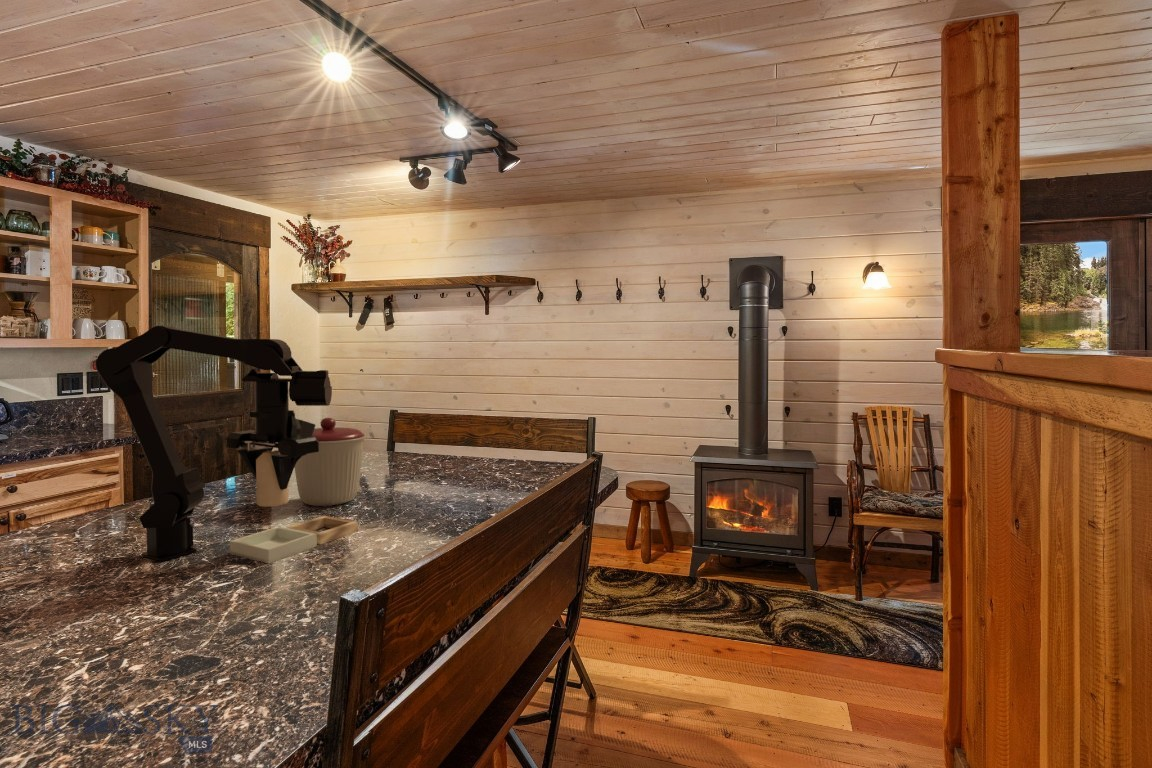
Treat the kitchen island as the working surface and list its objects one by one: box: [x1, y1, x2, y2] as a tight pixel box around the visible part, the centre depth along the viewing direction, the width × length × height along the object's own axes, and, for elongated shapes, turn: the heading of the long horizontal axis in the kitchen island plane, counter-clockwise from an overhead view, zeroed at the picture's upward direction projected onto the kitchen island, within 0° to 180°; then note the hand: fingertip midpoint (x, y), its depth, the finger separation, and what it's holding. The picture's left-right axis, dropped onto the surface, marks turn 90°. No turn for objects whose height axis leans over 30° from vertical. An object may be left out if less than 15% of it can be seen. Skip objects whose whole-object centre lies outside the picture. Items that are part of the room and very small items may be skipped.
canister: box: [294, 417, 367, 507], centre depth 155 cm, size 18×18×21 cm
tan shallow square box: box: [285, 515, 359, 545], centre depth 128 cm, size 10×10×2 cm
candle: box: [255, 449, 290, 507], centre depth 117 cm, size 6×6×10 cm
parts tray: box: [229, 526, 318, 564], centre depth 118 cm, size 11×11×2 cm
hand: (272, 487), depth 117 cm, fingers closed on candle, 5 cm apart
